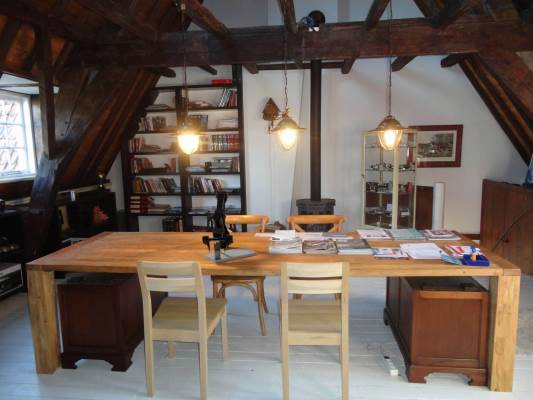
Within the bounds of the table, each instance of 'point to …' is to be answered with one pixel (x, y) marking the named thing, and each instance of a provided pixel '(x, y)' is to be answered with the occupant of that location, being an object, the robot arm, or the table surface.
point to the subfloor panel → (231, 254)
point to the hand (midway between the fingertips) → (217, 251)
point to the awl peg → (217, 250)
